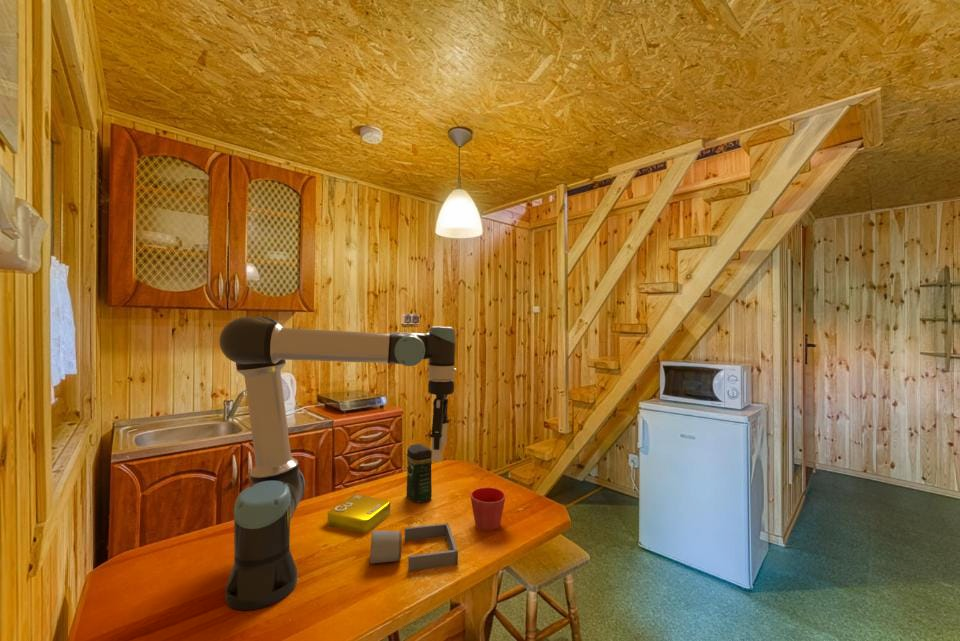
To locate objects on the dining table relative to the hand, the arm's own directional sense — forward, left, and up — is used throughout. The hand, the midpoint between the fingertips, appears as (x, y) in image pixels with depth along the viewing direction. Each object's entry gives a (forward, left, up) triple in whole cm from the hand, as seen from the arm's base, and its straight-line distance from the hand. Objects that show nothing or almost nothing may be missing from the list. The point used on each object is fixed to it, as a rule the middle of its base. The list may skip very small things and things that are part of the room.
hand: (439, 452), depth 120 cm
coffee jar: (-3, +29, -26) cm, 39 cm away
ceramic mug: (-15, -6, -26) cm, 30 cm away
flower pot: (+16, +5, -26) cm, 31 cm away
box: (-3, -6, -26) cm, 26 cm away
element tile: (-23, +18, -26) cm, 39 cm away
